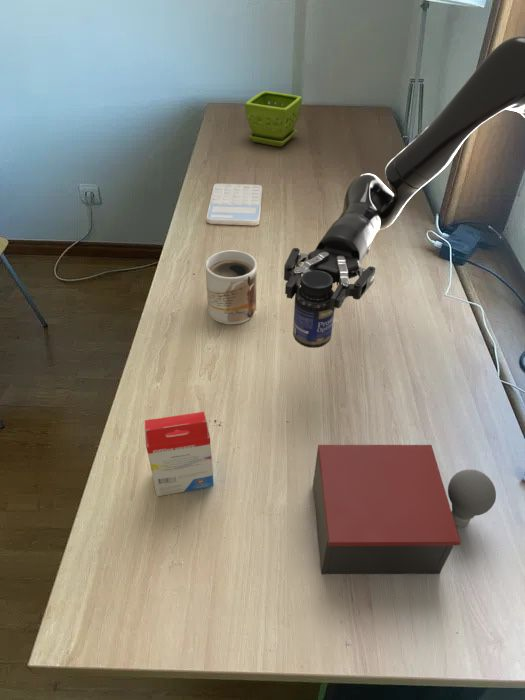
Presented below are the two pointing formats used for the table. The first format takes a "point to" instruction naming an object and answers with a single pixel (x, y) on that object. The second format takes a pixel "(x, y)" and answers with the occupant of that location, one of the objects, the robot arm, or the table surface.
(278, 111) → the flower pot
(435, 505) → the lid
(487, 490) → the light bulb
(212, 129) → the table surface
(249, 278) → the mug
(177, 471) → the ink box
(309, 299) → the pill bottle
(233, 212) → the calculator
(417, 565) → the gray open box
